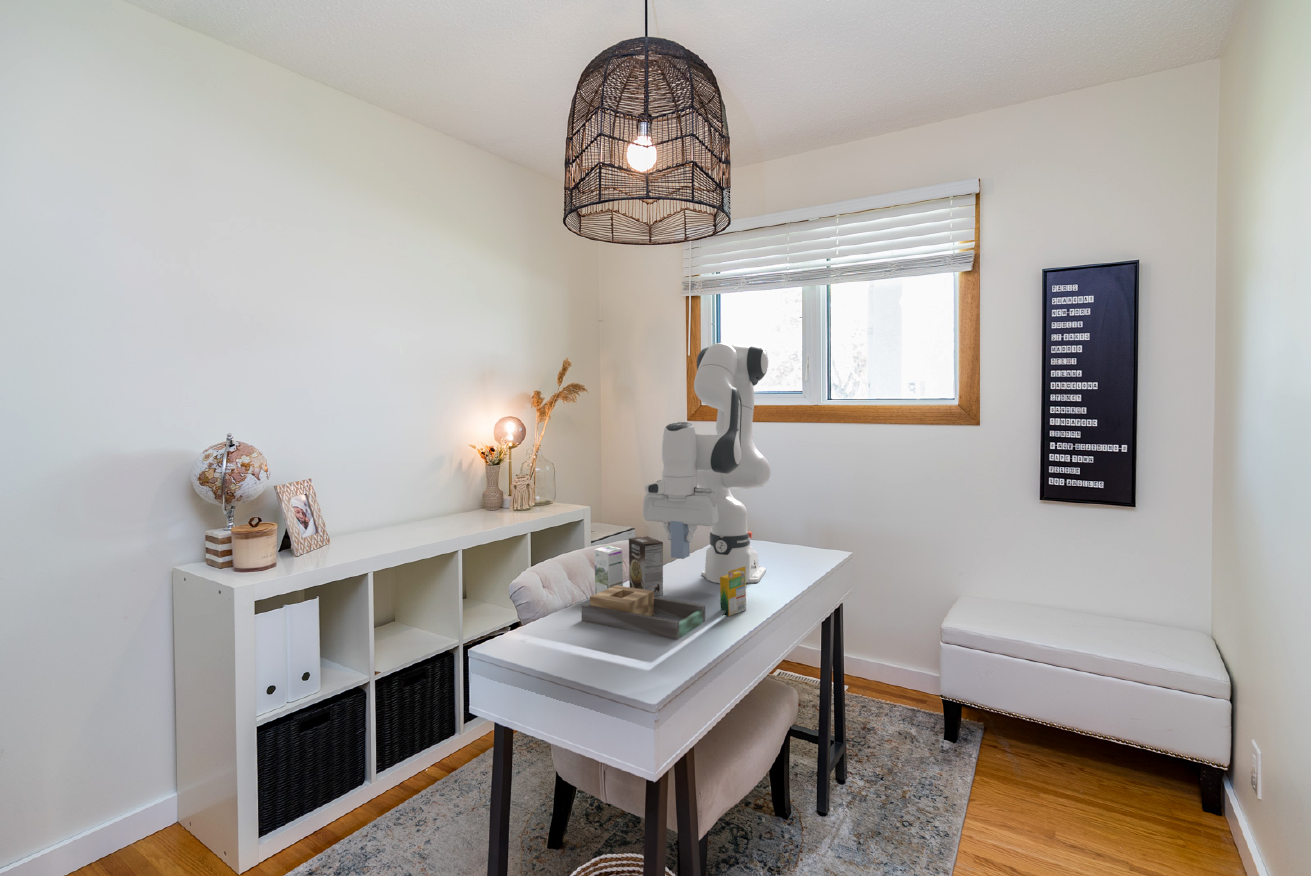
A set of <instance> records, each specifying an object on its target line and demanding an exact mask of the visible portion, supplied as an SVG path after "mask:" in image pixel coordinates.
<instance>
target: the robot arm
mask: <svg viewBox="0 0 1311 876" xmlns="http://www.w3.org/2000/svg"><path fill="white" fill-rule="evenodd" d="M768 368H769V357H768V353H767V351H766V349H765V348H764V347H763V346H761V345H757V344H749V345H747V344H728V343H724V342H717V343H713V344H711V345H710V346H708V347H704V348H702V350H700V352H698V355H697V357H696V374H695V378H694V382H693V391H694V392H695V395H696V397H697V398H698V399H699V400H700V401H701V402H702V403H704V404H705V405H707V406H708V407H710V408H713V409H717V413H716V415H717V416H716V424H715V431H716V434H697V433H696V431H695V426H694V424H693V423H691V422H687V421H683V422H682V421H679V422H673V423H669V424H667V425H666V426H665V427H664V430H663V434H662V443H661V461H662V462H663V463H662V464H663V469H662V473H661V479H660V480H657V481H655V482H652V483H649V484H646V485H645V487H644V492H645V495H644V498H643V503H642V516H643V518H644V520H645V521H647V522H657V523H659V522H660V523H663V528H664V530H665V532H666V534H667V540H668V541H671V521H678V522H683V524H688V529H689V533H688V534H687V535H685V542H689V543H692V542H694V541H693V539H694V534H695V532H696V530H697V528H698V526H701V527H710V532H709V538H708V539H709V545H710V546H709V547H708V548H707V549H706V552H705V565H704V570H702V571H701V576H703V577H705V578H706V580H708V581H710V582H712V583H716V584H720V577H721V576H725V575H728V571H731V570H734V569H738V568H741V567H744V566H746V568H745V569H746V573H745V578H746V584H748V583H759V581H761V579H762V578H763V576H764V575H765V573H766V572H767V568H766V567H764V566H761V565H759V554H758V552H757V551H756V550H755V549H754V547H753V546H751V539H752V538H753V532H752V531H748V511H747V508H746V506H745V504H744V503H743V502H741V501H740V500H738V499H736V498H735V497H734V496H733V494H732V492H731V489H739V490H740V489H742V490H750V489H751V490H753V489H757V488H763V487H765V485H766V484H767V483H768V481H769V479H770V476H771V465H770V463H769V460H768V459H767V458H766V457H765V456H764V455H763V454H762V453H761V452H760V451H759V449H758V448H757V446H756V444H755V441H754V438H753V420H754V411H755V410H754V409H755V389H754V387H755V386H756V385H757V384H758V383H759V381H761V380H763V378H764V377H765V375H766V374H767V371H768ZM736 572H741V571H740V570H739V571H738V570H737V571H736ZM761 577H762V578H761Z"/></svg>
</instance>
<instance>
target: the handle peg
mask: <svg viewBox="0 0 1311 876" xmlns="http://www.w3.org/2000/svg"><path fill="white" fill-rule="evenodd" d="M689 531H690V529H688V524H683V522H678V521H671V540H670V558H673V559H681V560H684V559H686V558H688V557H690V554H691V553H690V552H691V551H690V542H685V535H687V534H688V533H689Z"/></svg>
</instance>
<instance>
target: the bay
mask: <svg viewBox="0 0 1311 876" xmlns="http://www.w3.org/2000/svg"><path fill="white" fill-rule="evenodd" d="M580 607H581V622H584V623H590V624H593V625H598V626H599V625H600V626H605V627H610V628H613V629H614V628H615V629H620V630H625V631H630V632H633V633H634V632H636V633H638V634H639V633H640V634H646V635H648V636H655V637H660V638H664V639H665V638H666V639H669V640H674V641H677V640H679V639H681V638H682V637H683V636H684V635H686V634H688V633H689V632H691V631H692V630H694V629H695V628H697V627H699V626H700V625H702V624H703V623H705V621H706V605H704V604H699V603H692V602H688V601H681V600H676V599H675V600H674V599H669V598H668V599H667V598H662V597H658V596H654V614H653V615H659V616H664V617H670V618H675V619H682V620H680V621H679V620H672V619H668V618H664V617H663V618H662V617H658V616H657V617H656V616H653V615H651V616H646V615H641V614H635V613H630V612H625V611H619V610H614V609H608V608H603V607H597V606H592V605H590V604H581V606H580Z"/></svg>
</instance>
